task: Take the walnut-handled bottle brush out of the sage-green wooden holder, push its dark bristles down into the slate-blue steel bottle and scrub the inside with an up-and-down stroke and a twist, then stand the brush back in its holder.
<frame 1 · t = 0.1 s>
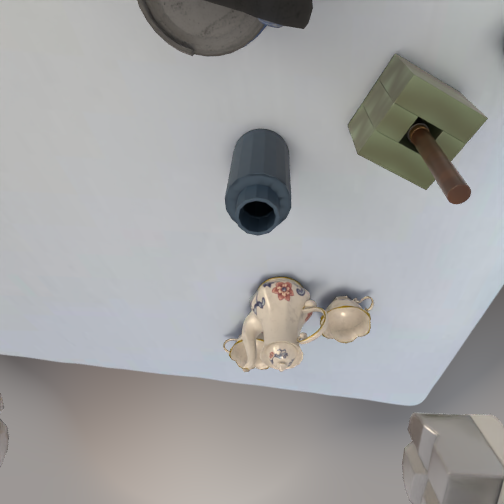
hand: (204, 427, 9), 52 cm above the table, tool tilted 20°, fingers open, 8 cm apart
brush: (425, 144, 48), in the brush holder
chinaware: (288, 305, 78), on the table
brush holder: (402, 109, 56), on the table
steel bottle: (261, 155, 61), on the table
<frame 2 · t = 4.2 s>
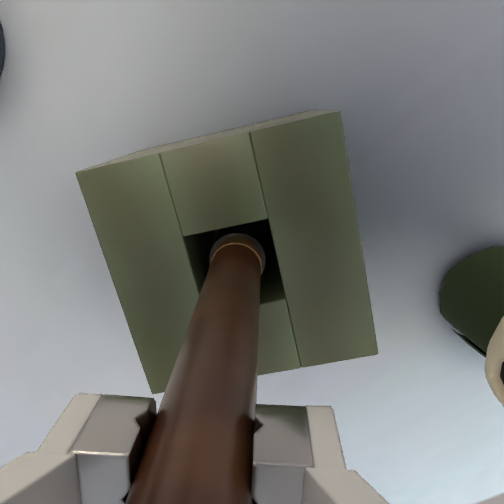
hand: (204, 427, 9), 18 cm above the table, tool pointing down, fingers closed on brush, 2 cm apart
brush: (231, 288, 16), in the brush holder, touching gripper
character mug: (486, 289, 27), on the table
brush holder: (245, 215, 26), on the table
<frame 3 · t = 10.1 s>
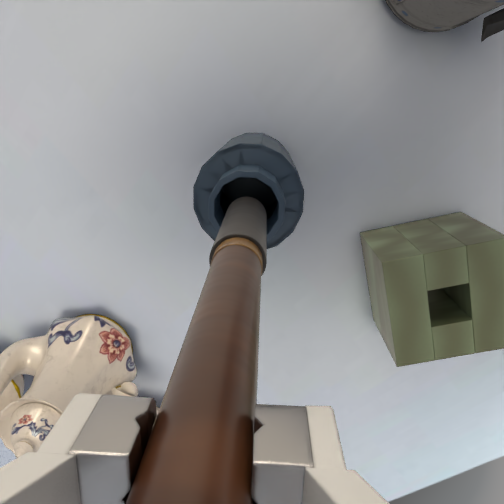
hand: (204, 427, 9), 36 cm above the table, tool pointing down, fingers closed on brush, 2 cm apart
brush: (232, 289, 16), point 29 cm above the table, touching gripper
chinaware: (89, 367, 50), on the table
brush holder: (415, 268, 45), on the table
steel bottle: (253, 173, 43), on the table
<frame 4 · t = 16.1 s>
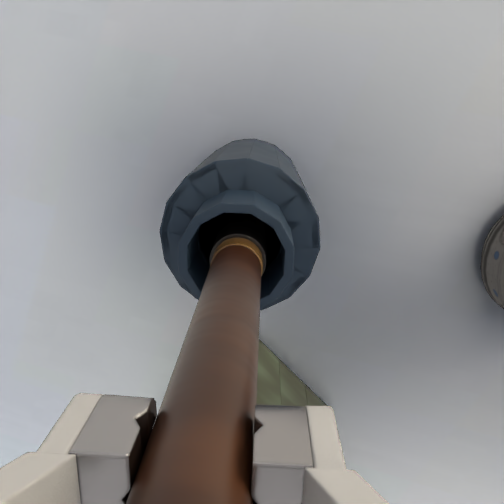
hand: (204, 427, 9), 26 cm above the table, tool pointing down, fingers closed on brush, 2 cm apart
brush: (232, 289, 16), point 19 cm above the table, touching gripper
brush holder: (250, 403, 39), on the table
steel bottle: (249, 190, 33), on the table
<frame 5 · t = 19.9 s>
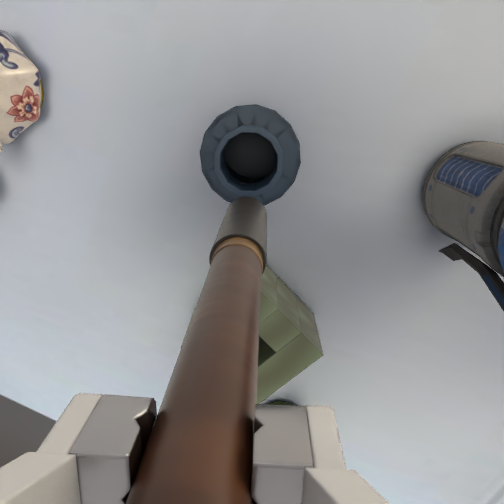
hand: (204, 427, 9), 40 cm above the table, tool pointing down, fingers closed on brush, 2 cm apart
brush: (232, 289, 16), point 33 cm above the table, touching gripper
beverage bottle: (460, 195, 47), on the table
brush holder: (254, 311, 52), on the table
steel bottle: (254, 144, 46), on the table
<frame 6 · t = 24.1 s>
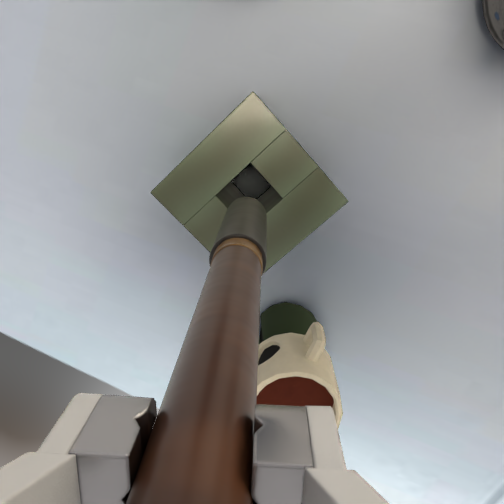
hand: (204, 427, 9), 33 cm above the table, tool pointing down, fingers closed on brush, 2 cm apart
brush: (232, 289, 16), point 26 cm above the table, touching gripper
character mug: (286, 326, 45), on the table
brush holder: (253, 177, 40), on the table
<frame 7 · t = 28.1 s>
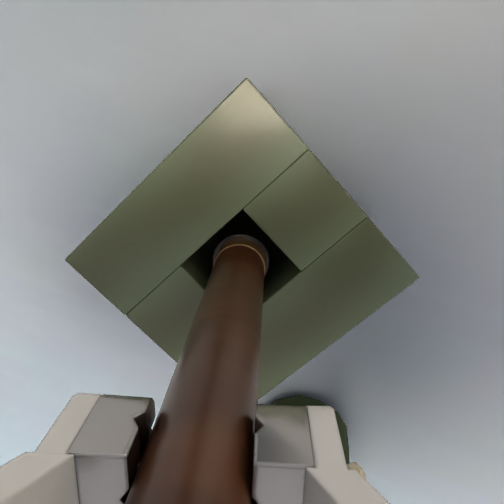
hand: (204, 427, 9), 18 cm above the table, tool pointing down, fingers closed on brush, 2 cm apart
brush: (235, 289, 16), in the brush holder, touching gripper
character mug: (299, 426, 31), on the table
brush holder: (250, 215, 26), on the table
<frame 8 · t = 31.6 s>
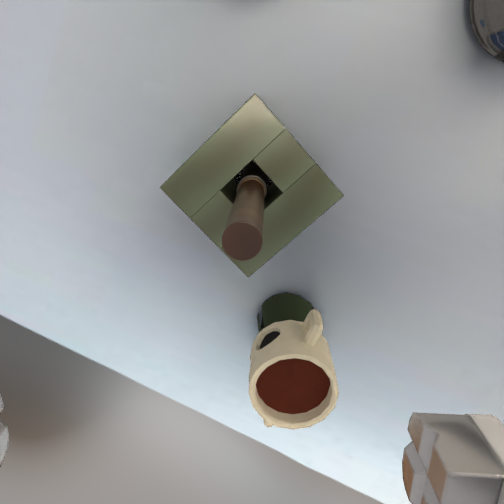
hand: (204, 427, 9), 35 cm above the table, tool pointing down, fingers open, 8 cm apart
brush: (250, 197, 32), in the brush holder
character mug: (286, 316, 47), on the table
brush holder: (254, 174, 42), on the table
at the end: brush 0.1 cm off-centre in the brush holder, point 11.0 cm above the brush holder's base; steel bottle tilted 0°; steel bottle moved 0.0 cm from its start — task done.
